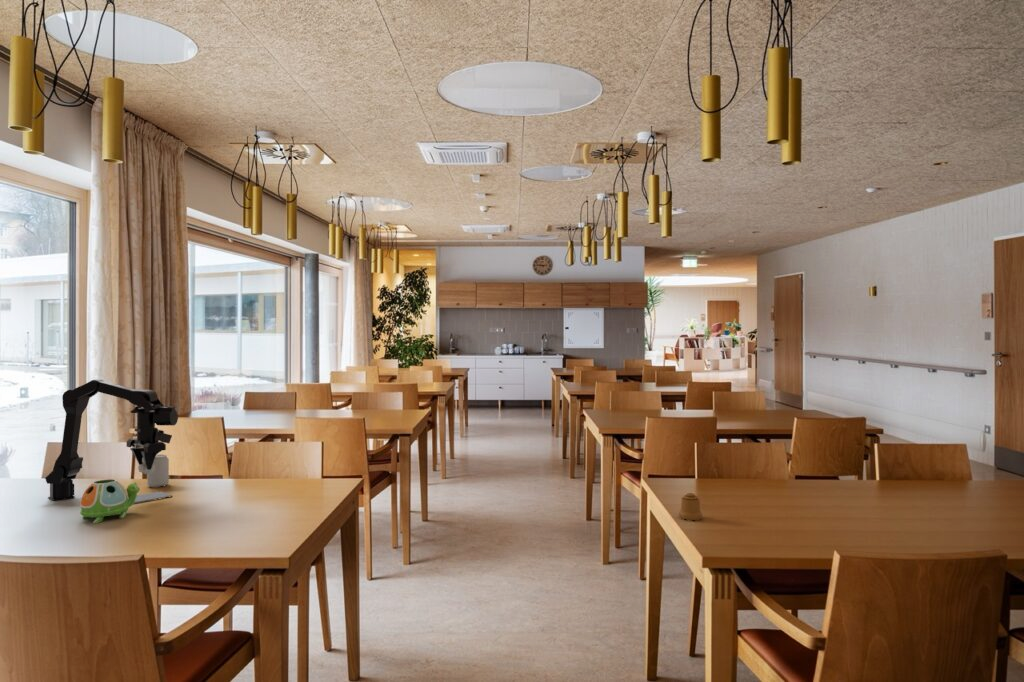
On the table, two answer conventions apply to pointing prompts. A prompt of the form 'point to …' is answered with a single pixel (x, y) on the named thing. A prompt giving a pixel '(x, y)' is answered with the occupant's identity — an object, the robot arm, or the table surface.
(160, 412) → the robot arm
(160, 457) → the can
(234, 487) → the table surface
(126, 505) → the turtle holder
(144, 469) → the off-white lumpy chunk
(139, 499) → the grey mat
